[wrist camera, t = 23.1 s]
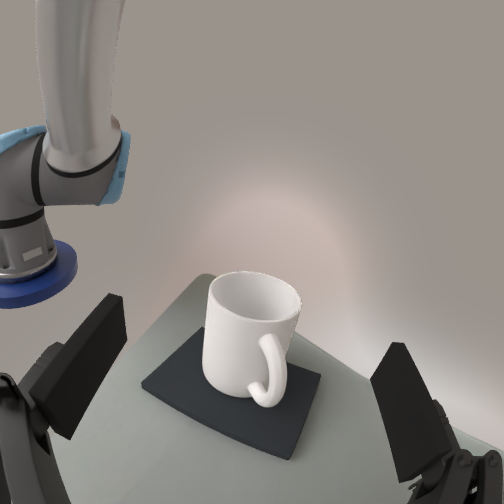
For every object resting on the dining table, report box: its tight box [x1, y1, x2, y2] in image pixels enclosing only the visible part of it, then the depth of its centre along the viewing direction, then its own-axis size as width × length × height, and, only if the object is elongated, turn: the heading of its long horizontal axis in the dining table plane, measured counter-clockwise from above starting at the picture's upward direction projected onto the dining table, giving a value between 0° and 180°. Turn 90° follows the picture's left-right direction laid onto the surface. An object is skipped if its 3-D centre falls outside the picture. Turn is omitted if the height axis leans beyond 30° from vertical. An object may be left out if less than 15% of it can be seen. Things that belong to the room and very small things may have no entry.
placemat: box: [141, 327, 321, 460], centre depth 26 cm, size 16×12×1 cm
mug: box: [202, 271, 302, 407], centre depth 24 cm, size 12×8×10 cm
